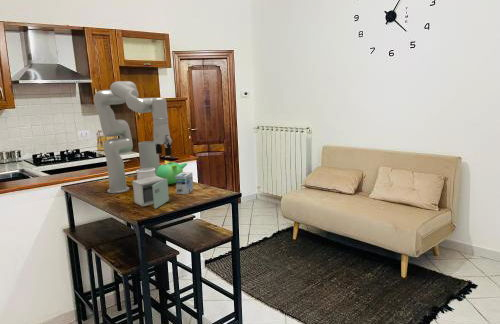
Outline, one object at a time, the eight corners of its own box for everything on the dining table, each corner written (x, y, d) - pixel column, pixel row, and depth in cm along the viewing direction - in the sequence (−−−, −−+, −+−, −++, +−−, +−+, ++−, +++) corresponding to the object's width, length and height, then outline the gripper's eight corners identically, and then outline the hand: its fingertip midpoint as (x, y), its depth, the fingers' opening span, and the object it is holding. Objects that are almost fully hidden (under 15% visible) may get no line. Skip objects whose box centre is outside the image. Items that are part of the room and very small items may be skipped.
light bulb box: (187, 194, 213) (186, 176, 211) (176, 194, 215) (174, 176, 213) (193, 189, 224) (192, 171, 222) (183, 189, 225) (181, 171, 223)
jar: (147, 198, 209) (145, 171, 206) (134, 196, 215) (132, 170, 212) (161, 193, 218) (159, 168, 215) (148, 191, 223) (146, 166, 221)
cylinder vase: (164, 177, 258) (161, 141, 254) (152, 181, 247) (149, 144, 242) (149, 176, 264) (146, 140, 259) (137, 180, 252) (134, 143, 248)
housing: (134, 202, 202) (132, 180, 200) (158, 196, 211) (156, 176, 208) (142, 206, 194) (140, 183, 192) (166, 200, 203) (165, 179, 201)
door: (154, 208, 189) (152, 185, 187) (167, 200, 203) (165, 178, 200) (157, 208, 189) (155, 185, 187) (170, 200, 202) (168, 178, 200)
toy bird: (166, 179, 251) (164, 158, 248) (189, 180, 246) (187, 158, 243) (152, 186, 234) (150, 163, 231) (177, 187, 229) (175, 164, 226)
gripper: (146, 122, 199) (149, 154, 202) (162, 123, 186) (165, 157, 189) (159, 120, 204) (161, 151, 207) (175, 121, 191) (178, 154, 194)
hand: (163, 154), depth 198 cm, fingers open, 9 cm apart
